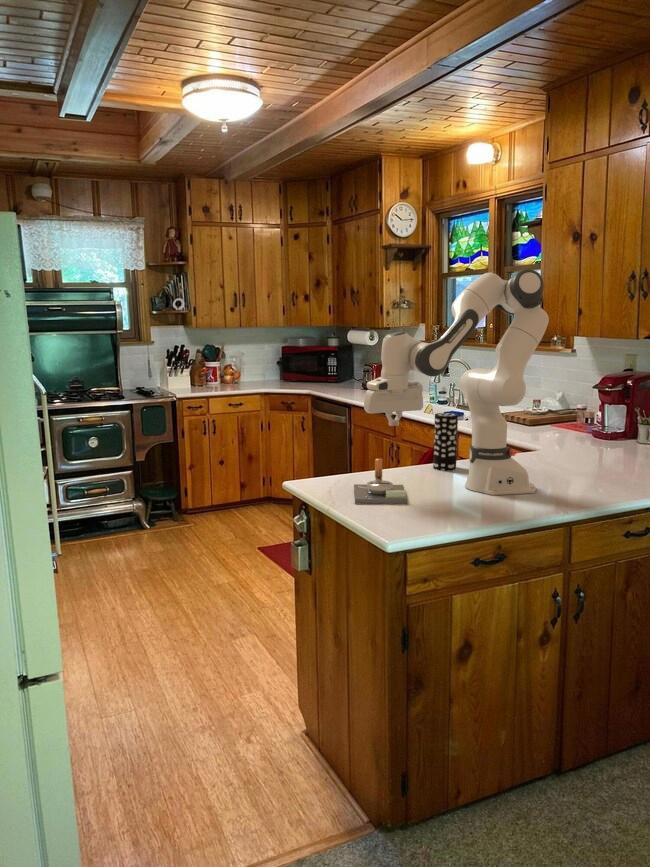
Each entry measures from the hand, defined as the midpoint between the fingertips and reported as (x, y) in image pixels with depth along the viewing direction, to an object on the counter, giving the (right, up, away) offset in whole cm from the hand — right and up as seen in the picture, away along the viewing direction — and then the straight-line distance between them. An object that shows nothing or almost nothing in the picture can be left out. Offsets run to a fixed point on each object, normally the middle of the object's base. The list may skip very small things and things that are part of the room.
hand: (393, 425), depth 227 cm
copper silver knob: (-5, -20, -4) cm, 21 cm away
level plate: (-5, -22, -6) cm, 24 cm away
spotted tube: (+22, -16, +31) cm, 41 cm away
